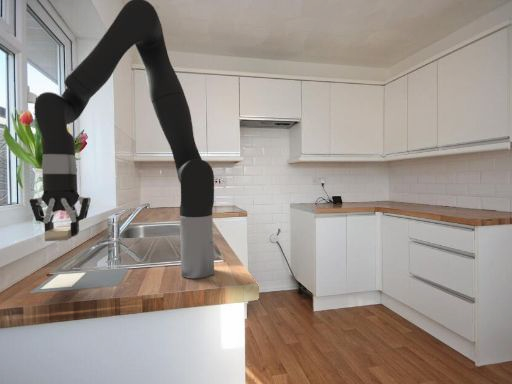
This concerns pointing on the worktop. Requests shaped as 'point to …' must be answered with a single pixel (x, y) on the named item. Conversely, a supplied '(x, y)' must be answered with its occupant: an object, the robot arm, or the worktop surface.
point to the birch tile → (58, 233)
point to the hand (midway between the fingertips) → (62, 236)
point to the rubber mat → (82, 280)
